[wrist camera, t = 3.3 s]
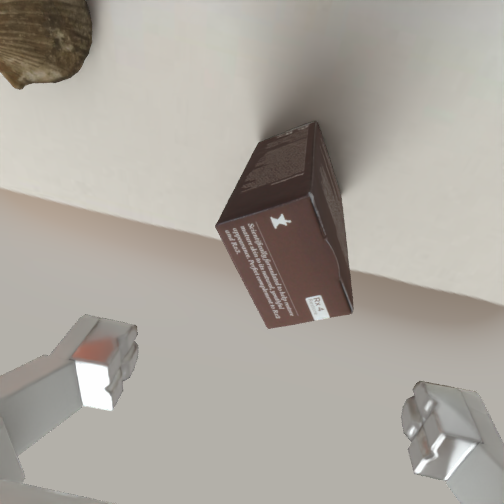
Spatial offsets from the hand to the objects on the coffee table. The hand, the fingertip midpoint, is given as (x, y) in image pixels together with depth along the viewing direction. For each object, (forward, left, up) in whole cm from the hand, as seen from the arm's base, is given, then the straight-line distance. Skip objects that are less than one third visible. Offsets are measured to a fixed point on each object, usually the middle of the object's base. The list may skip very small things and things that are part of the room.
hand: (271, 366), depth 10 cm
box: (0, 0, -17) cm, 17 cm away
